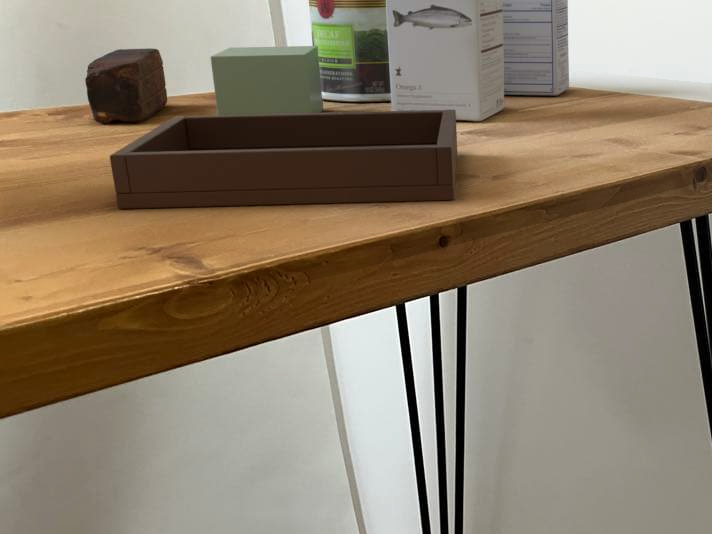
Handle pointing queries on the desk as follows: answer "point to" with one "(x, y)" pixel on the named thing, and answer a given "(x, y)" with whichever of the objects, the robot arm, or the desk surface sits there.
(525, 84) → the medicine box
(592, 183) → the desk surface
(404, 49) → the white packaging box
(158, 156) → the tray
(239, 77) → the base block
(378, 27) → the coffee can
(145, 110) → the brick
